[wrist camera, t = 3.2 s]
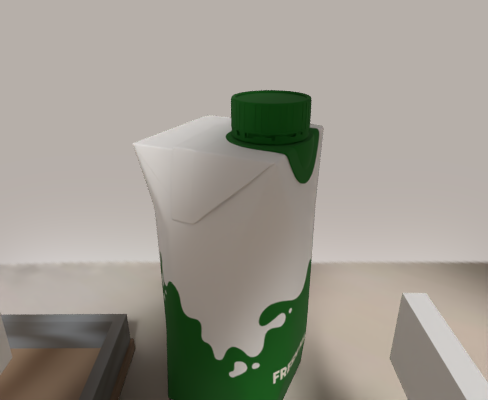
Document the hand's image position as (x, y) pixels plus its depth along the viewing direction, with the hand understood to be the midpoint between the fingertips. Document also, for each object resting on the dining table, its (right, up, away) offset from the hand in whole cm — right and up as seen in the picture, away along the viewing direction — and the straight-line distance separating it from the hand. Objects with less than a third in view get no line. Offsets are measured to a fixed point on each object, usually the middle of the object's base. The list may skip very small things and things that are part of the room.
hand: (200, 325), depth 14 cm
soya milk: (+1, -9, +16) cm, 18 cm away
